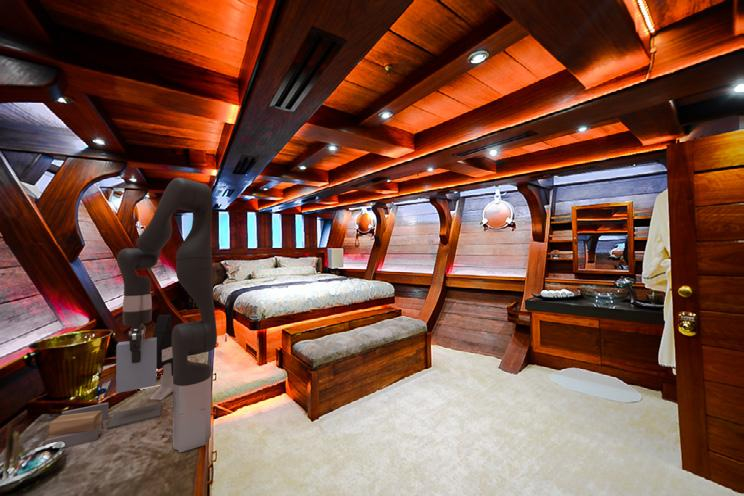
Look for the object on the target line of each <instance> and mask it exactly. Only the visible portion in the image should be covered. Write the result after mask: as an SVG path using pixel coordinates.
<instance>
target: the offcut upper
mask: <svg viewBox="0 0 744 496" xmlns="http://www.w3.org/2000/svg"><path fill="white" fill-rule="evenodd" d="M101 423H102V411H93V412H85V413H77V414H69V415H62V414H61V415H59V416H57V417H56V418H55V419H53V420H52V421H50V422H49V427H48V428H49V431H48V432H49V433H48V435H49V436H53V435H60V434H67V433H75V432H82V431H89V430H94V429H95V428H96V427H97V426H98V425H100V424H101ZM49 436H48V437H49Z"/></svg>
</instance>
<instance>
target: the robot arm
mask: <svg viewBox="0 0 744 496" xmlns="http://www.w3.org/2000/svg"><path fill="white" fill-rule="evenodd" d="M160 198H161V199H160V201H159V202H158V205H157V206H156V208H155V211H154V214H153V216H152V218H151V220H150V221H149V222H148V225H147V226H146V227H145V228H144V230H143V231H142V232H141V233H140V235H139V236H138V238H137V239H136V242H135V246H136V248H135V247H133V248H131V247H130V248H129V247H126V248H123V249H121V250H120V251H119V252H118V254H117V256H116V263H117V265H118V268H119V271H120V275H121V278H122V281H123V301H122V324H123V325H124V326H131V328H130V329H129V330H128V338H129V340H128V341H129V344H130V351H131V352H132V363H139V362H140V361H141V343H142V342H143V339H146V326H145V325H144V324H146V323H150V322H152V318H153V314H152V313H153V311H152V310H153V308H152V307H153V305H152V304H153V302H152V301H153V300H152V280H151V278H150V277H148V276H143V275H139V274H138V273H137V272H136V270H148V269H152V268H153V267H155V266H156V265H157V264H158V260H159V258H160V254H161V252H162V249H163V248H164V247H165V245H166V244H167V243H168V242H169V241H170V239H171V238H172V235H173V226H172V215H173V214H174V213H175V212H176V211H177V210H181V211H187V212H192V213H191V214H192V224H191V229H190V231H189V233H187V236H186V237H185V238H184V240H183V241H182V243H181V244H180V246H179V248H178V249H177V252H176V255H175V265H176V266H175V273H176V278H177V280H178V282H179V283H180V284H179V285H181V286H182V288H183V289H184V290H185V291H186V292H187V294H188V295H189V296H190V298H192V299H193V300H194V303H195V304H196V306H197V309H198V311H199V314H200V320H197V321H195V320H194V321H189V322H188V321H187V322H182V323H177V324H176V325H174V327H172V331H171V332H172V354H173V391H172V448H173V449H174V450H176V451H178V453H183V452H187V451H191V450H193V449H196V448H199V447H203V446H206V444H207V442H208V441H209V440H210V439H211V436H212V368H211V366H210V365H209V364H207V363H203V362H194V361H190V360H188V359H189V358H188V357H190V356H195V355H199V354H204V353H208V352H212V351H213V350H214V349H216V346H217V342H218V329H217V321H216V312H215V311H216V310H215V304H214V290H213V288H214V287H213V286H214V285H213V277H214V276H213V275H214V273H213V272H214V271H213V269H214V268H213V255H212V253H213V252H212V219H213V206H214V205H213V192H212V189H211V188H210V186H209V185H207V184H205V183H202V182H198V181H196V180H195V181H194V180H191V179H188V178H187V179H186V178H183V177H175V178H174V179H173V178H172V180H171V181H170V182H169V183H168V185H167V186H166V188H165V189H164V191H163V194H162V196H161V197H160ZM135 344H137V345H138V346H137V347H134V345H135Z"/></svg>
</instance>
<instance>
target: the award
mask: <svg viewBox="0 0 744 496" xmlns="http://www.w3.org/2000/svg"><path fill="white" fill-rule="evenodd" d="M172 319H173V318H172V315H171V314H159V315H158V317H157V319H156V323H155V327H154V328H153V329H154V330H153V334H152V337H151V338H157V369H159V368H161V367H162V373H163V375H161V376H160V385H161V386H160V387H158V388H157V390H156V391H155V392H154V393H153V394H152V396H150V397H149V400H158V401H159V400H160V401H162V400H164V399H165V398H166V397H168V396H169V394H171V393H173V354H172V331H173V327H172V325H173V324H172Z"/></svg>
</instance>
